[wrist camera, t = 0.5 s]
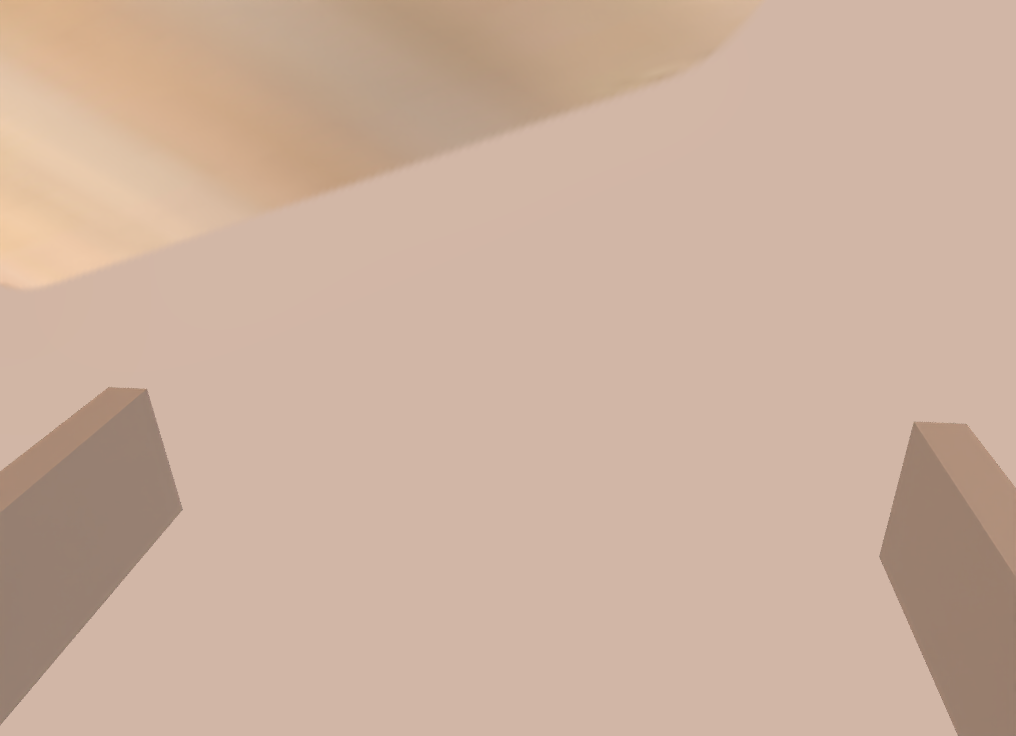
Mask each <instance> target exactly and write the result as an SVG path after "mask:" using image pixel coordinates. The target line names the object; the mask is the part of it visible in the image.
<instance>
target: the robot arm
mask: <svg viewBox="0 0 1016 736" xmlns="http://www.w3.org/2000/svg"><path fill="white" fill-rule="evenodd" d="M181 511H182V506H181V502H180V499H179V496H178V492H177V489H176V485H175V482H174V479H173V475H172V472H171V469H170V465H169V462H168V459H167V455H166V452H165V448H164V445H163V442H162V438H161V435H160V432H159V428H158V425H157V422H156V418H155V415H154V411H153V408H152V405H151V401H150V398H149V395H148V391H147V389H137V388H113V387H108V388H107V389H106V390H105V391H103V392H102V393H101V394H99V395H98V396H97V397H95V398H94V399H93V400H92V401H90V402H89V403H88V404H86V405H85V406H84V407H83V408H81V409H80V410H79V411H77V412H76V413H75V414H74V415H72V416H71V417H70V418H68V419H67V420H66V421H65V422H63V423H62V424H61V425H59V426H58V427H57V428H56V429H54V430H53V431H52V432H50V433H49V434H48V435H47V436H45V437H44V438H43V439H41V440H40V441H39V442H38V443H36V444H35V445H34V446H32V447H31V448H30V449H29V450H28V451H26V452H25V453H24V454H23V455H21V456H20V457H18V458H17V459H16V460H15V461H13V462H12V463H11V464H9V465H8V466H7V467H5V468H4V469H3V470H2V471H0V725H1V724H2V723H3V721H4V720H5V719H6V718H7V717H8V715H9V714H10V713H11V712H12V711H13V710H14V708H15V707H16V706H17V705H18V704H19V702H20V701H21V700H22V699H23V698H24V696H25V695H26V694H27V693H28V692H29V691H30V689H31V688H32V687H33V686H34V685H35V684H36V682H37V681H38V680H39V679H40V678H41V676H42V675H43V674H44V673H45V672H46V670H47V669H48V668H49V667H50V666H51V665H52V663H53V662H54V661H55V660H56V659H57V657H58V656H59V655H60V654H61V653H62V652H63V650H64V649H65V648H66V647H67V646H68V644H69V643H70V642H71V641H72V639H74V637H75V636H76V635H77V634H78V633H79V632H80V630H81V629H82V628H83V627H84V625H85V624H86V623H87V622H88V621H89V620H90V619H91V617H92V616H93V615H94V614H95V613H96V611H97V610H98V609H99V608H100V607H101V605H102V604H103V603H104V602H105V601H106V600H107V598H108V597H109V596H110V595H111V594H112V593H113V591H114V590H115V589H116V588H117V587H118V585H119V584H120V583H121V582H122V581H123V579H124V578H125V577H126V576H127V574H129V572H130V571H131V570H132V569H133V568H134V566H135V565H136V564H137V563H138V562H139V561H140V559H141V558H142V557H143V556H144V554H145V553H146V552H147V551H148V550H149V549H150V547H151V546H152V545H153V544H154V543H155V542H156V540H157V539H158V538H159V537H160V536H161V535H162V533H163V532H164V531H165V530H166V529H167V527H168V526H169V525H170V524H171V523H172V521H173V520H174V519H175V518H176V517H177V516H178V514H179V513H180V512H181ZM880 559H881V562H882V564H883V566H884V568H885V571H886V573H887V575H888V578H889V580H890V582H891V584H892V586H893V589H894V591H895V593H896V596H897V598H898V600H899V603H900V605H901V607H902V609H903V612H904V614H905V616H906V618H907V621H908V623H909V625H910V628H911V630H912V632H913V634H914V637H915V639H916V641H917V643H918V646H919V648H920V650H921V652H922V655H923V657H924V659H925V662H926V664H927V666H928V668H929V671H930V673H931V675H932V677H933V680H934V682H935V684H936V687H937V689H938V691H939V693H940V696H941V698H942V700H943V703H944V705H945V707H946V709H947V712H948V714H949V716H950V718H951V721H952V723H953V725H954V727H955V730H956V732H957V734H958V736H1016V488H1015V486H1014V485H1013V484H1012V482H1011V481H1010V480H1009V479H1008V477H1007V476H1006V475H1005V473H1004V472H1003V471H1002V470H1001V468H1000V467H999V466H998V464H997V463H996V462H995V460H994V459H993V458H992V457H991V455H990V454H989V453H988V451H987V450H986V449H985V447H984V446H983V445H982V444H981V442H980V441H979V440H978V438H977V437H976V436H975V434H974V433H973V432H972V431H971V429H970V428H969V427H968V425H967V424H956V423H955V424H954V423H933V422H932V423H931V422H914V424H913V427H912V431H911V435H910V439H909V443H908V447H907V451H906V455H905V458H904V463H903V466H902V471H901V474H900V478H899V482H898V486H897V490H896V494H895V497H894V501H893V505H892V509H891V513H890V517H889V521H888V525H887V529H886V532H885V536H884V540H883V544H882V548H881V552H880Z"/></svg>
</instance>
